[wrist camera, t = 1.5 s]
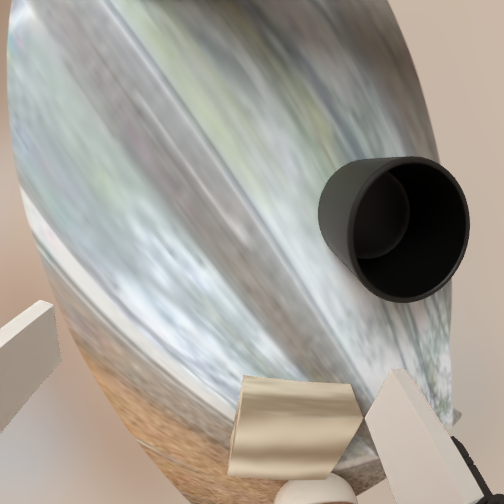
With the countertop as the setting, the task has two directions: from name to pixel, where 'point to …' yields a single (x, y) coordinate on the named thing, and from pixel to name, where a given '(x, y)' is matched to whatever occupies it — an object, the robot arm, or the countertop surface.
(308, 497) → the lidded bowl
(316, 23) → the countertop surface
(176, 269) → the countertop surface
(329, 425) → the riser block
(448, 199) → the black cup
